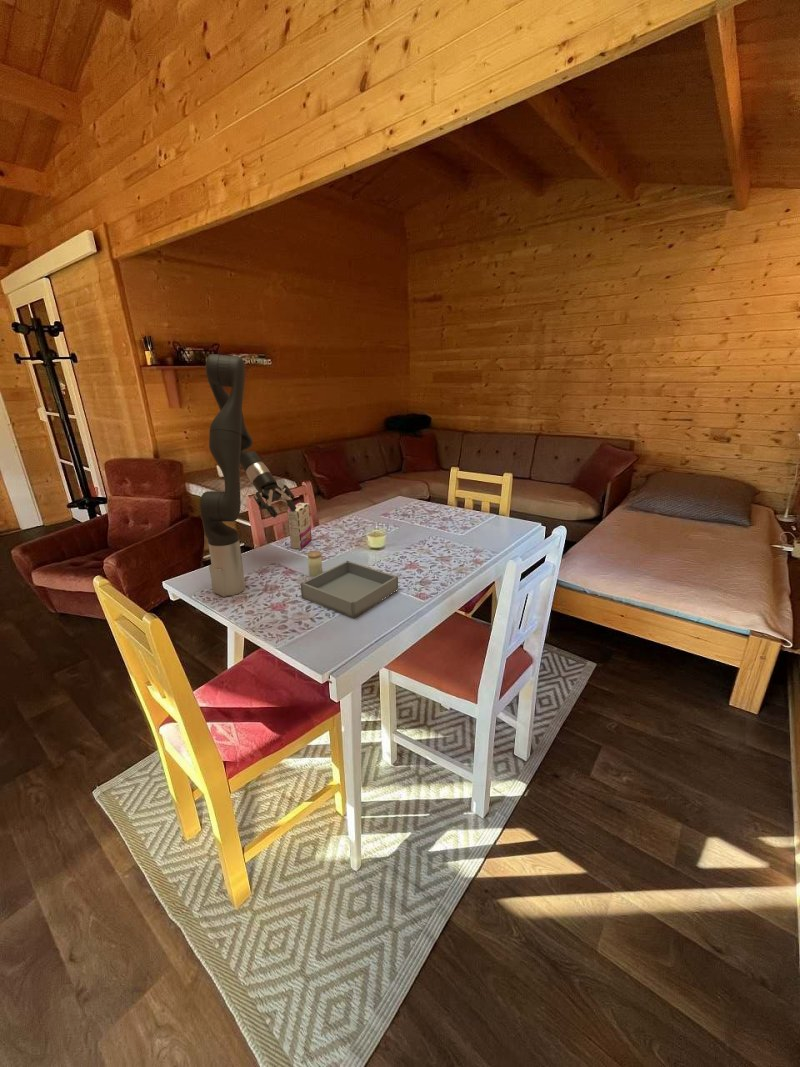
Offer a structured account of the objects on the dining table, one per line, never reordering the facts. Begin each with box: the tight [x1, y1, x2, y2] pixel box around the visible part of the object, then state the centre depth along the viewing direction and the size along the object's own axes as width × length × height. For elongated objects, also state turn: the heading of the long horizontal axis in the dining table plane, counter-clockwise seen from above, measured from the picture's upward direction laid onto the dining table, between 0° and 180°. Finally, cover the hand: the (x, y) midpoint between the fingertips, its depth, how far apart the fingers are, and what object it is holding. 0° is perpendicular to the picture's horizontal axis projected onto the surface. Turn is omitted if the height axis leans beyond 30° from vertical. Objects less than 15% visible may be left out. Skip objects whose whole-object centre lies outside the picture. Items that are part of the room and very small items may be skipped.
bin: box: [300, 560, 399, 619], centre depth 144 cm, size 22×22×5 cm
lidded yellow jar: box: [307, 550, 323, 578], centre depth 158 cm, size 5×5×8 cm
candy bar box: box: [287, 502, 313, 550], centre depth 184 cm, size 11×5×16 cm, turn 168°
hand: (285, 513), depth 160 cm, fingers open, 8 cm apart
